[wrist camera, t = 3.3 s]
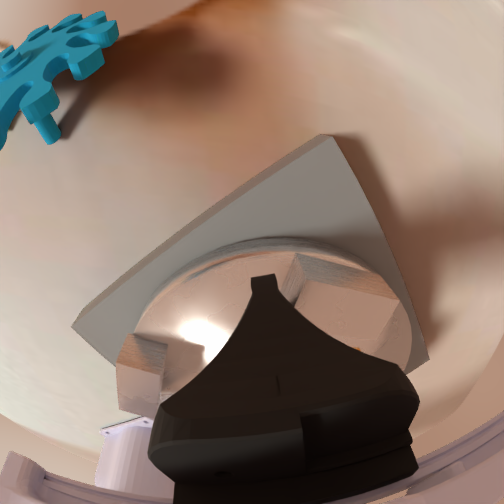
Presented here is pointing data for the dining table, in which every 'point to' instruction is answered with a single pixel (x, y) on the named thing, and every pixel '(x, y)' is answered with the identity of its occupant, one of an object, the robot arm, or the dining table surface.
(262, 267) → the lugged metal disc
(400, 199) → the dining table surface
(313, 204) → the base plate
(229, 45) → the dining table surface
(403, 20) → the dining table surface
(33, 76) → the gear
